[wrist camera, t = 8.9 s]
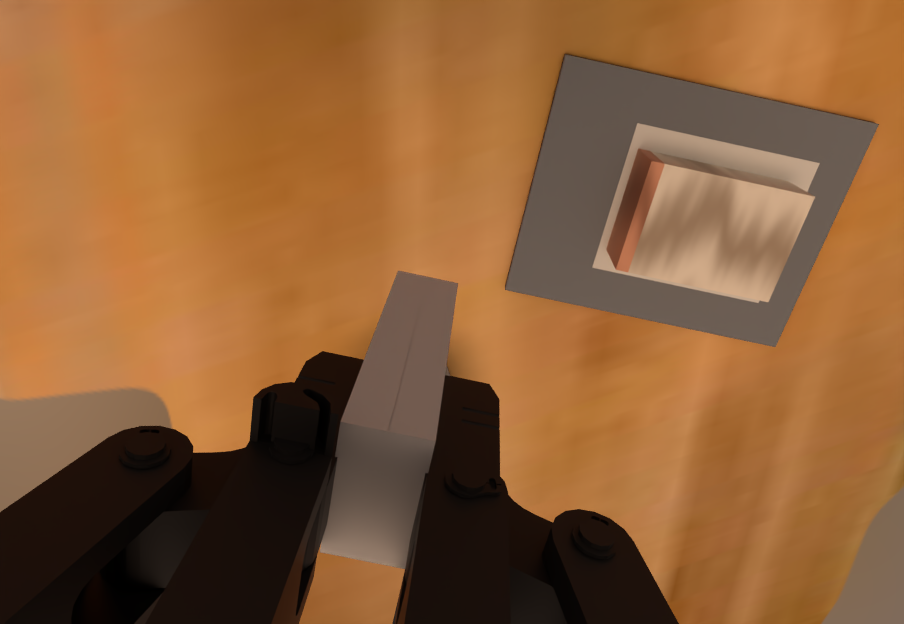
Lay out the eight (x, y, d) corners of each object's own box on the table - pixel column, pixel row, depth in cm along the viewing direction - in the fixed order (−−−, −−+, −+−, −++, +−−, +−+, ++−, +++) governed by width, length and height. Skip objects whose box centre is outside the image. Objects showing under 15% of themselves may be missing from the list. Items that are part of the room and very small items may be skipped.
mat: (564, 54, 41) (565, 54, 40) (873, 122, 41) (879, 124, 41) (505, 286, 48) (505, 290, 47) (772, 343, 48) (775, 347, 47)
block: (651, 161, 39) (815, 196, 39) (638, 148, 42) (788, 181, 43) (615, 269, 42) (768, 302, 42) (606, 249, 45) (746, 279, 46)
